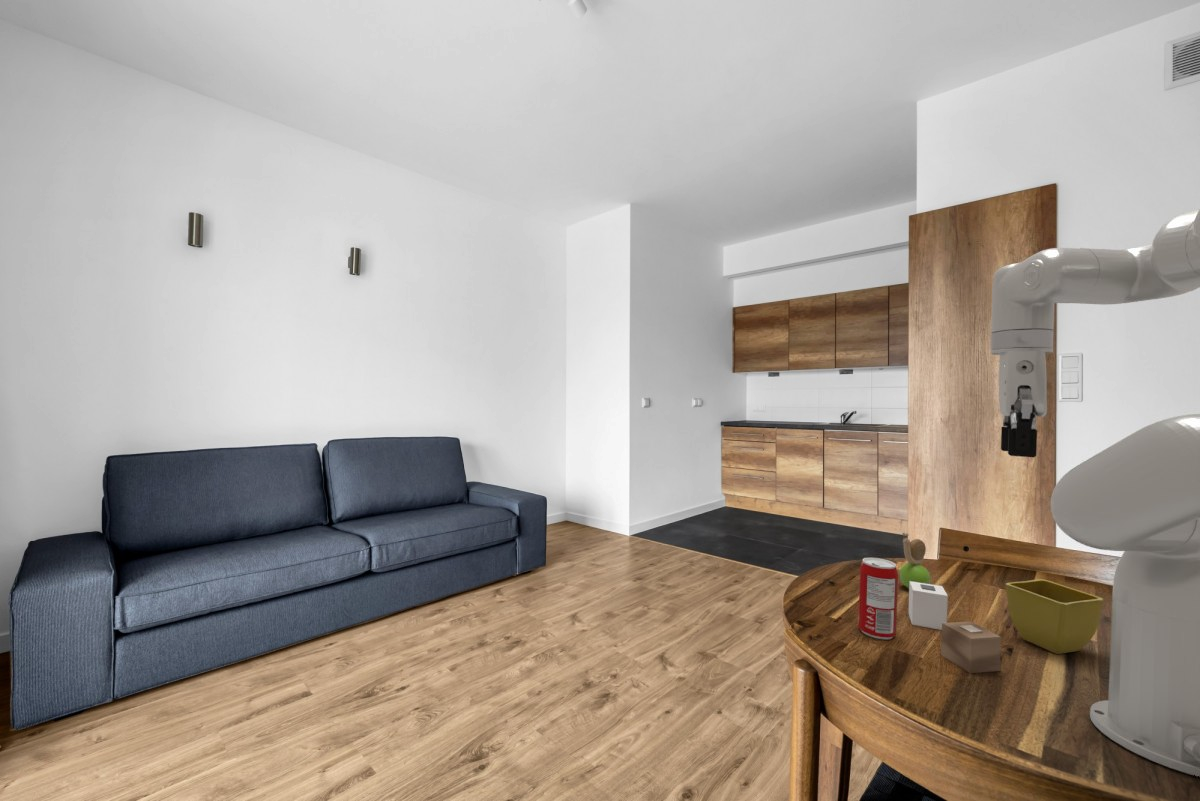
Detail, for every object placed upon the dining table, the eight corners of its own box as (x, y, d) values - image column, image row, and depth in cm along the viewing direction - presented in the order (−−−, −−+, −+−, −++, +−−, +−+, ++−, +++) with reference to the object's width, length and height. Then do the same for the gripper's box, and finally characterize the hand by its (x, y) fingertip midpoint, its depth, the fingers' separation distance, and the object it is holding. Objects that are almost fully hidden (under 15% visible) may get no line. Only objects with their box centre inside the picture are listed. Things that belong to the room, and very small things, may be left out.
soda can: (876, 623, 88) (878, 554, 88) (903, 638, 83) (906, 564, 83) (850, 627, 86) (852, 556, 86) (877, 642, 81) (879, 567, 81)
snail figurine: (889, 587, 105) (891, 529, 105) (910, 583, 108) (912, 527, 108) (915, 597, 100) (917, 536, 100) (936, 592, 103) (938, 533, 103)
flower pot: (1062, 663, 76) (1064, 603, 76) (1001, 636, 84) (1003, 582, 84) (1103, 656, 78) (1105, 598, 78) (1040, 631, 87) (1042, 578, 87)
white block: (946, 631, 86) (947, 594, 86) (912, 624, 88) (913, 589, 88) (941, 619, 90) (942, 585, 90) (908, 613, 93) (909, 580, 92)
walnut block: (999, 671, 73) (1001, 635, 73) (970, 673, 73) (971, 637, 72) (969, 653, 78) (970, 620, 78) (940, 655, 77) (942, 621, 77)
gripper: (1065, 336, 70) (1060, 461, 70) (1042, 348, 84) (1039, 451, 85) (996, 339, 74) (992, 456, 74) (986, 350, 89) (982, 448, 89)
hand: (1017, 453), depth 79 cm, fingers open, 9 cm apart
